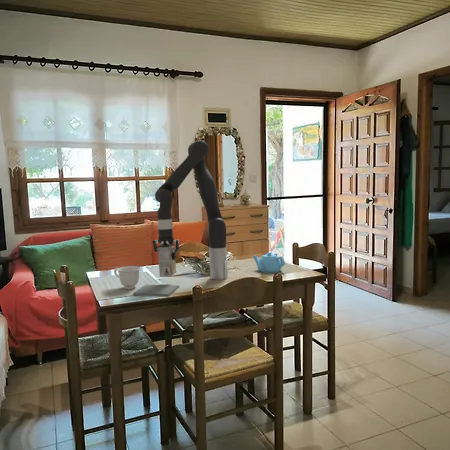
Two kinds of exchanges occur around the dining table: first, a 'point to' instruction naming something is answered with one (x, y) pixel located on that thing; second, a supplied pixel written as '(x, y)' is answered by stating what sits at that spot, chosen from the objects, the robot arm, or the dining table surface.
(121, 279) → the teacup
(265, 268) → the teapot
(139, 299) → the dining table surface
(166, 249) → the coffee box
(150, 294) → the mat
